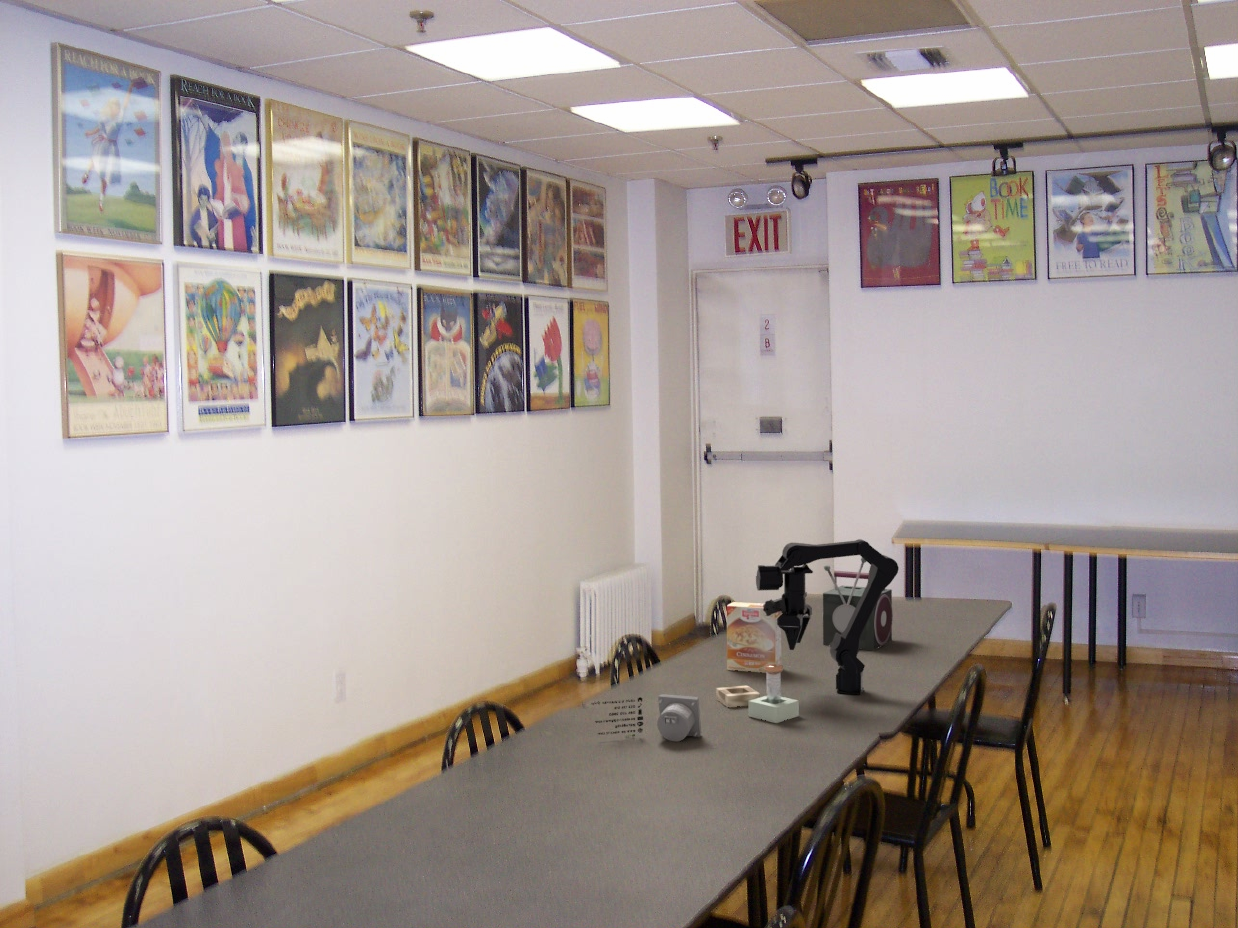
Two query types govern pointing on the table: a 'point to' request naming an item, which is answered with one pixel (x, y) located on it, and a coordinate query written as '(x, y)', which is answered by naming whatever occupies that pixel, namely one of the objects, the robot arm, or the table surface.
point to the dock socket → (773, 709)
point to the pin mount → (736, 695)
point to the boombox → (843, 605)
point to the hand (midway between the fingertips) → (795, 646)
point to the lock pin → (773, 682)
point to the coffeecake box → (752, 637)
